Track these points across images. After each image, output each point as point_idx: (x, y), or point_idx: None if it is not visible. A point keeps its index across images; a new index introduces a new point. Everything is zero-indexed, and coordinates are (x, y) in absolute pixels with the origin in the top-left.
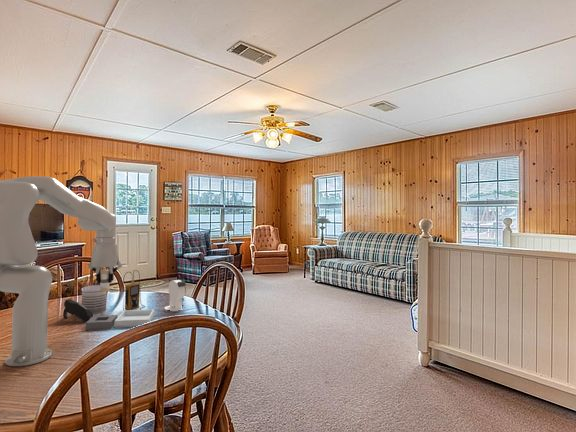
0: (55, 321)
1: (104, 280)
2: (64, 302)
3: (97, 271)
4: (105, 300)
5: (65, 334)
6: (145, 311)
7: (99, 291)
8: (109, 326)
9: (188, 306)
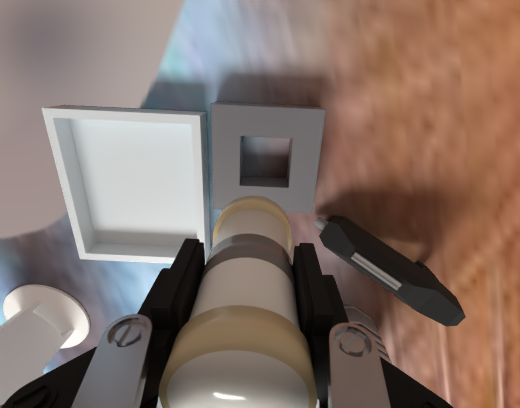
0: (449, 240)
1: (240, 249)
2: (462, 310)
3: (351, 359)
4: None
5: (391, 55)
6: (117, 251)
7: None
8: (222, 102)
9: None
